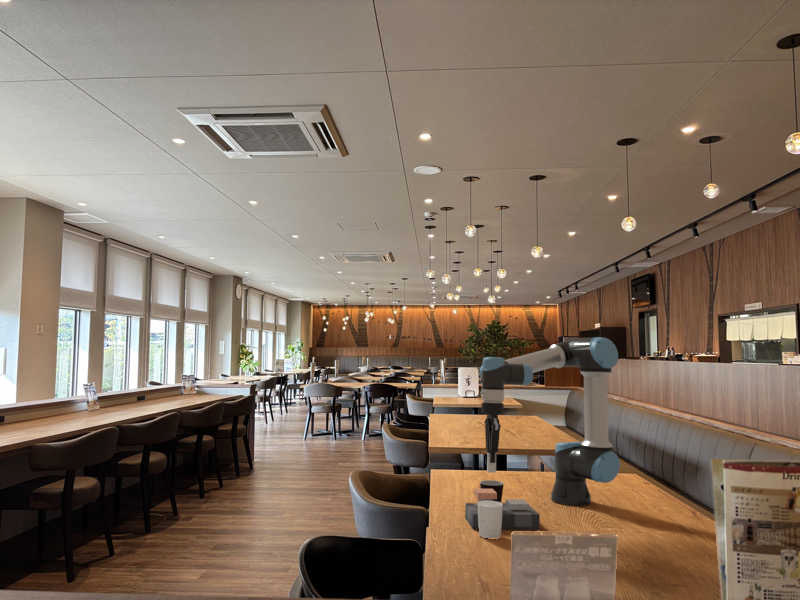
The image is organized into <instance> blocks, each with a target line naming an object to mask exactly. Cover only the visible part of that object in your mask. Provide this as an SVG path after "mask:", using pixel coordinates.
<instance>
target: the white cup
mask: <svg viewBox="0 0 800 600" xmlns="http://www.w3.org/2000/svg"><path fill="white" fill-rule="evenodd" d="M476 503H477V504H478V527H479V530H478V536H479V535H480V536H481V537H485V538H499V537H502V530H501V528H502V510H503V504H502V503H503V502H501V503H500V502H496V501H479V502H476ZM480 536H479V537H480ZM481 537H480V538H481ZM499 539H500V538H499Z"/></svg>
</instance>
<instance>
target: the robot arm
mask: <svg viewBox="0 0 800 600" xmlns="http://www.w3.org/2000/svg"><path fill="white" fill-rule="evenodd" d="M618 360H619V352H618V349H617V347H616V344H614V342H613V341H612V340H610V339H609V338H606V337H600V336H599V337H598V336H597V337H596V336H595V337H582V338H581V337H576V338H572V339H569V340H568V339H567V340H565V341H561V342H558V343H555V344H552V345H550V346H549V347H548V348H545V349H543V350H539V351H538V350H537V351H534V352H531V353H527V354H523V355H519V356H516V357H512V358H507V359H504V357H500V356H498V357H497V356H486V357H483V359H482V365H481V366H480V368H479V373H478V374H479V377H480V379H481V391H480V394H479V395H481V400H482V402H481V413H482V414H486V418H485V420H484V432H485V433H484V435H485V436H484V437H485V449H486V453H487V454H486V455H487V457H486V459H487V461H486V471H487V472H486V473H497V453H498V452H499V445H500V443H499V442H500V431H501V426H502V425H501V423H500V419H499V415H503V414H504V407H505V406H504V401H505V386H507V385H508V386H509V385H510V386H528V385H530V384H531V383H532V382H533V379H534V373H538V372H541V371H545V370H548V369H552V368H556V369H561V368H571V367H572V368H573V367H574V368H579V373H580V375H582V376H583V392H584V393H583V399H584V400H583V401H584V402H583V404H584V405H583V408H584V409H583V410H584V416H583V418H584V419H583V421H584V423H583V424H584V439H583V440H582V441H570V442H568V441H567V442H565V441H564V442H558V443H556V445H555V451H554V456H555V457H554V465H555V467H554V468H555V470H554V471H555V481H554V485H553V488H552V491H551V493H550V495H551V496H550V500H551V501H552V502H554V503H557V504H561V505H564V506H565V505H566V506H572V507H573V506H578V507H579V506H580V507H581V506H583V507H584V506H589V505H590V504H592V497H591V493H590V491H589V488H588V484H587V480H589V481H590V480H591V481H594V482H596V483H603V484H608V483H611V482H613V480H615V478H616V477H617V476H618V474H619V472H620V468H621V459H620V457H619V456H618V455H617V453H615V452H614V450H613V449H614V445H613V444H612V443H611V442H610V441H609V406H608V405H609V401H608V400H609V394H608V390H609V389H608V377H609V376H610V375H611V374H612V368H614V367H615V366H616V365H617V363H618Z"/></svg>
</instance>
